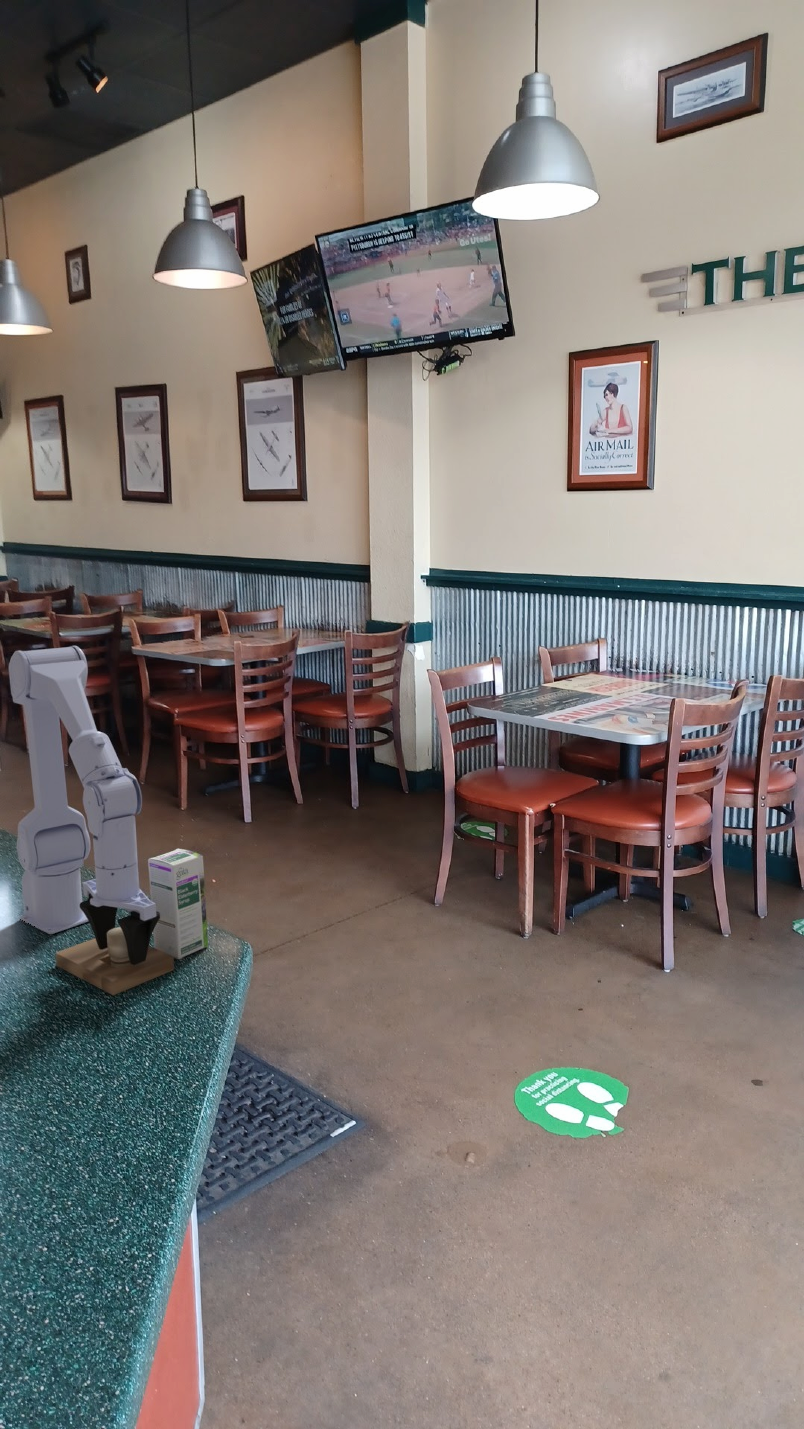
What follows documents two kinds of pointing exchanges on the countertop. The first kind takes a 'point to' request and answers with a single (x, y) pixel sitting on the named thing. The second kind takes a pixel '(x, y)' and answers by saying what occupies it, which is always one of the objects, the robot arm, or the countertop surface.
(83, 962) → the board
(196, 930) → the syrup box
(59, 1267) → the countertop surface
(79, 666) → the robot arm
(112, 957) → the peg
